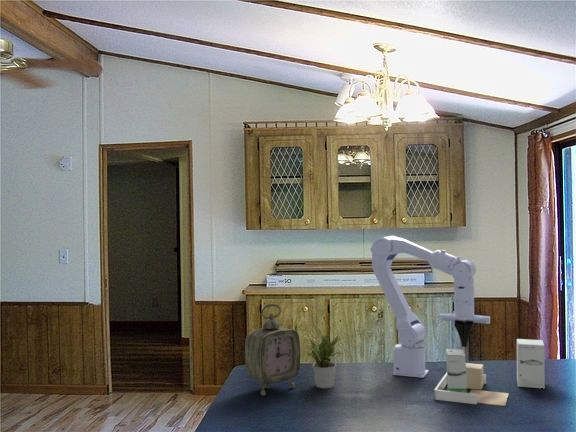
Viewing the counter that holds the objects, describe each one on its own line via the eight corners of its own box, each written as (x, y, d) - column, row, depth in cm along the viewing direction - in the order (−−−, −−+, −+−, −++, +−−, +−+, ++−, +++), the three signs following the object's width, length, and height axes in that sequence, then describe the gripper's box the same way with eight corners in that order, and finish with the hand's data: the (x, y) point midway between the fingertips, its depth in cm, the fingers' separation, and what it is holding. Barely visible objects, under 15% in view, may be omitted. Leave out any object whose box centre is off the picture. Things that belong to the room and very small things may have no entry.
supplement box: (517, 387, 174) (517, 343, 174) (516, 380, 181) (516, 338, 181) (545, 389, 172) (544, 345, 172) (543, 382, 179) (542, 339, 179)
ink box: (468, 399, 164) (465, 355, 164) (449, 398, 165) (447, 355, 165) (465, 389, 173) (463, 347, 173) (447, 389, 174) (445, 347, 174)
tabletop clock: (261, 399, 168) (259, 308, 168) (242, 391, 175) (240, 305, 175) (301, 388, 177) (299, 302, 177) (281, 381, 184) (280, 299, 184)
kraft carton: (463, 388, 175) (462, 367, 175) (465, 383, 180) (465, 363, 179) (481, 389, 173) (481, 368, 173) (483, 385, 177) (483, 364, 177)
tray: (434, 399, 165) (433, 389, 165) (447, 379, 183) (447, 370, 183) (476, 404, 160) (476, 394, 160) (486, 383, 179) (485, 374, 179)
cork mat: (465, 401, 163) (465, 401, 163) (471, 390, 173) (471, 389, 173) (505, 406, 158) (505, 405, 158) (508, 394, 168) (508, 393, 168)
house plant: (360, 390, 174) (359, 333, 174) (316, 396, 169) (315, 338, 169) (338, 377, 188) (337, 324, 187) (297, 383, 183) (296, 328, 182)
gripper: (436, 301, 181) (437, 347, 181) (487, 304, 174) (488, 351, 175) (441, 298, 187) (441, 342, 187) (490, 300, 181) (491, 345, 181)
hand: (464, 346), depth 181 cm, fingers closed
